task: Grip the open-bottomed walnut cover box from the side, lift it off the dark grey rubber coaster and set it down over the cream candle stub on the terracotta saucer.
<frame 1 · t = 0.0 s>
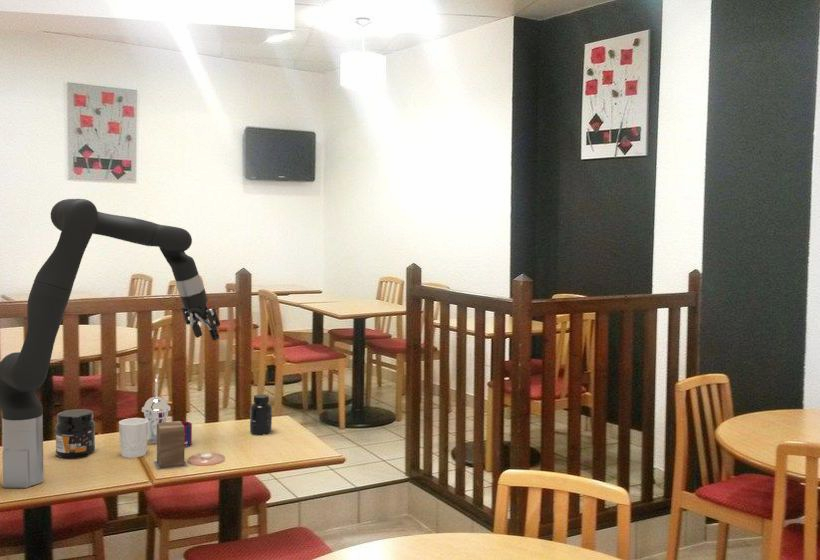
hand: (207, 338, 240), 31 cm above the table, tool tilted 20°, fingers open, 8 cm apart
supplement bottle: (260, 433, 249), on the table
white cup: (133, 456, 223), on the table
cup with straw: (156, 441, 238), on the table
supplement container: (75, 454, 223), on the table
coaster: (170, 465, 214), on the table
mug: (179, 445, 234), on the table
cover: (170, 463, 214), resting on coaster
saucer: (206, 461, 218), on the table
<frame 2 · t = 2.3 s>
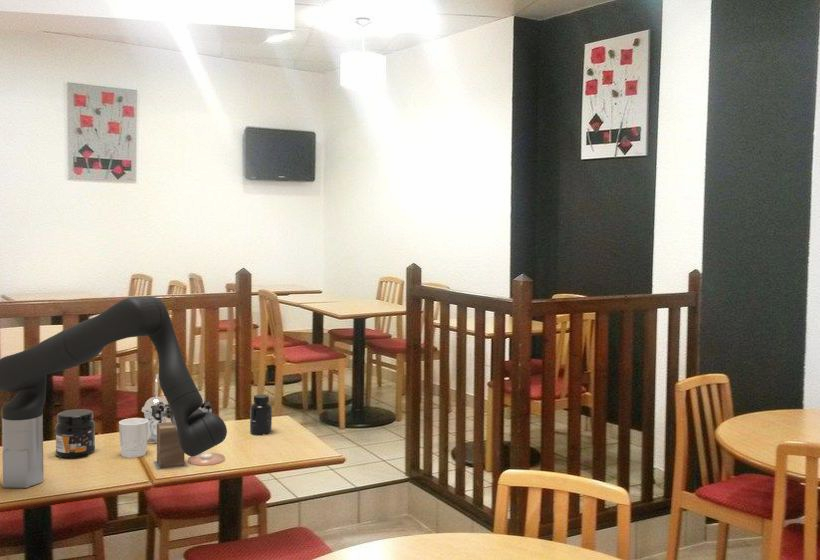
hand: (177, 404, 203), 20 cm above the table, tool horizontal, fingers open, 8 cm apart
nothing on the table moved.
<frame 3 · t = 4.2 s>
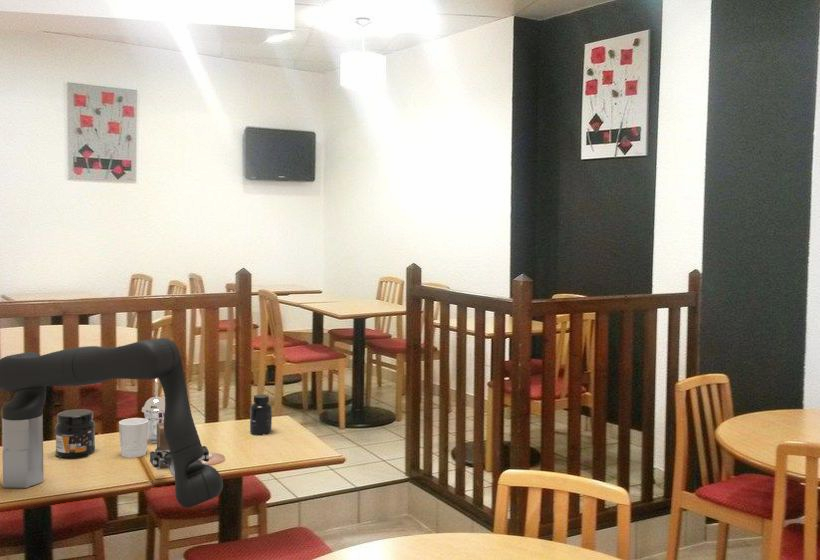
hand: (175, 448, 206), 7 cm above the table, tool horizontal, fingers open, 8 cm apart
nothing on the table moved.
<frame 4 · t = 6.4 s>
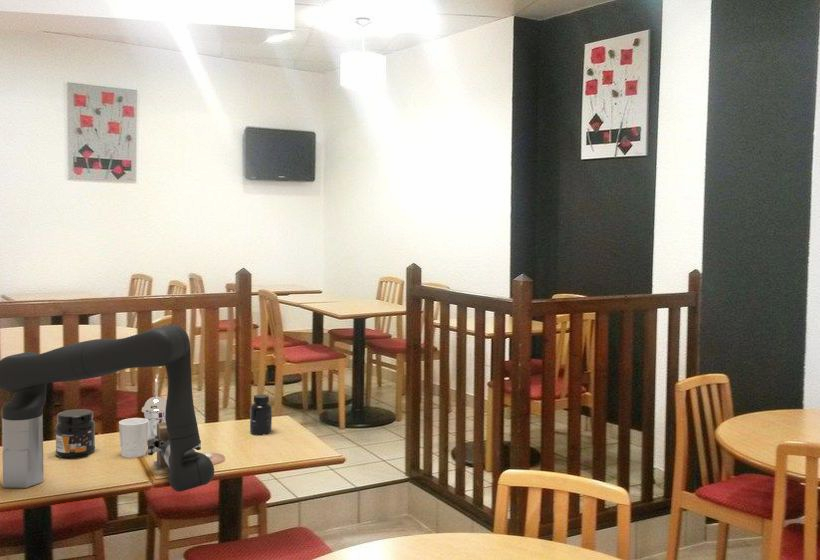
hand: (169, 438, 216), 7 cm above the table, tool horizontal, fingers closed on cover, 6 cm apart
cover: (170, 463, 214), resting on coaster, touching gripper
everything else where it was.
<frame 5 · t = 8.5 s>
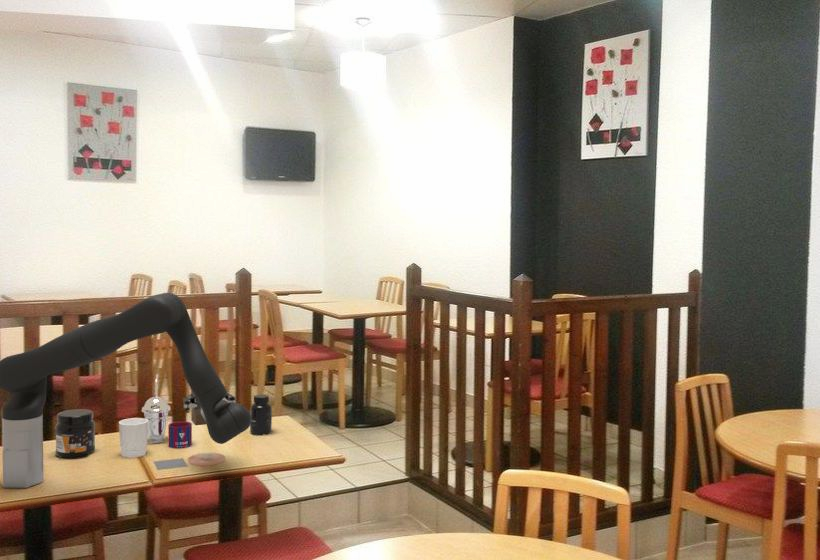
hand: (203, 396, 218), 18 cm above the table, tool horizontal, fingers closed on cover, 6 cm apart
cover: (205, 421, 217), point 12 cm above the table, touching gripper
everything else where it was.
when the fingers open (9 cm above the table, at t = 10.9 s): cover drops 1 cm, resting on saucer.
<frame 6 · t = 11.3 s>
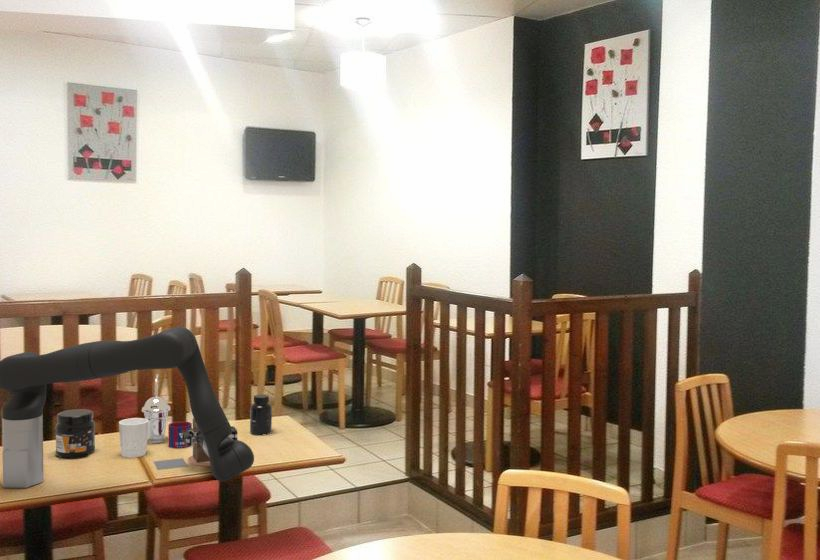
hand: (205, 429, 219), 9 cm above the table, tool horizontal, fingers open, 8 cm apart
cover: (206, 458, 218), point 1 cm above the table, touching saucer
everything else where it was.
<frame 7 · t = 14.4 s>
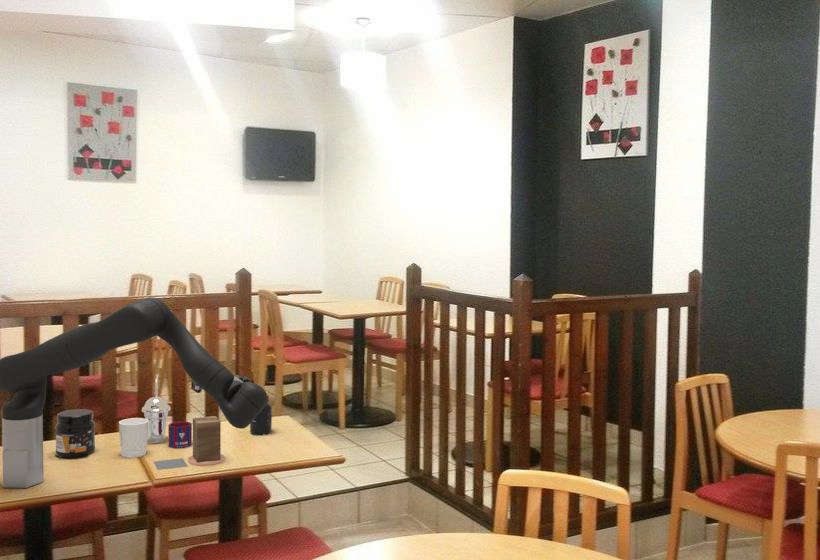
hand: (214, 378, 207), 26 cm above the table, tool horizontal, fingers open, 8 cm apart
nothing on the table moved.
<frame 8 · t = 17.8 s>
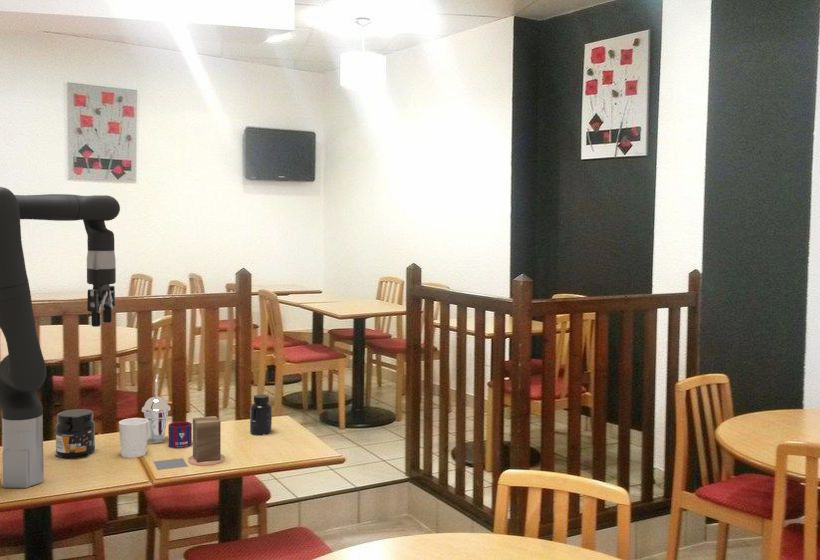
hand: (101, 324, 218), 38 cm above the table, tool pointing down, fingers open, 8 cm apart
nothing on the table moved.
at the end: cover 0.0 cm from the saucer (horizontally); cover tilted 0°; cover point 1.0 cm above the table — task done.
